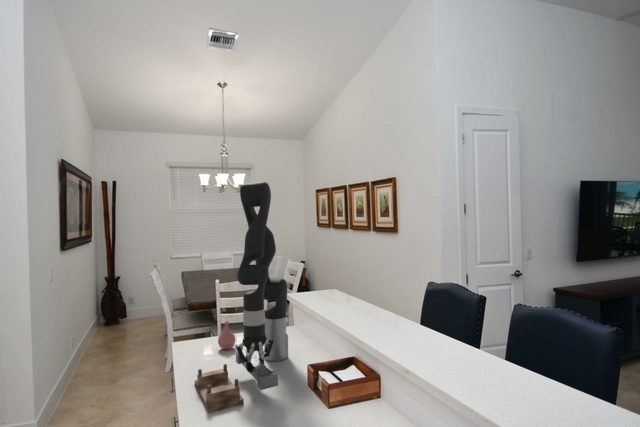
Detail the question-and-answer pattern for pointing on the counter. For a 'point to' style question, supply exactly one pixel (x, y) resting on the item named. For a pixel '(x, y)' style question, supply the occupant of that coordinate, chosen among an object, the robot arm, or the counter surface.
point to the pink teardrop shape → (226, 338)
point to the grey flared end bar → (260, 372)
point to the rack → (218, 390)
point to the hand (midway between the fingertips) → (255, 370)
